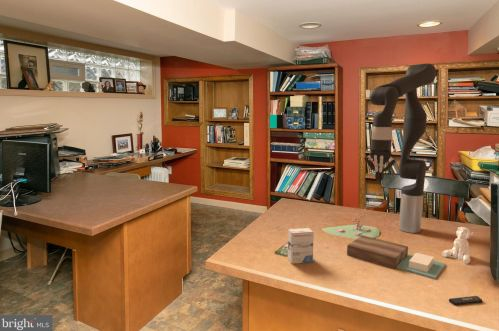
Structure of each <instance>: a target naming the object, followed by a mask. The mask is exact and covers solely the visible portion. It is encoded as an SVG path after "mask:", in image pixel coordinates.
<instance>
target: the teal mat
mask: <svg viewBox="0 0 499 331" xmlns="http://www.w3.org/2000/svg"><path fill="white" fill-rule="evenodd" d="M413 256H414V254H408V256H407V257H406V258H405V259H403V260H402V261H401V262H400V263H399V264H398V265H397V266H396V268H395V269H398V270H401V271H405V272H408V273H412V274H416V275H419V276H422V277H427V278H429V279H433V280H436V279H437V278H438V276H439V275H440V274H441V272H442V271H443V269H444V268H445V267H446V263H444V262H441V261H437V260H434V262H433V265H432V266H431V268H430V269H429V271H428V272H424V271H420V270H416V269H412V268H409V260H410V259H411V258H412V257H413Z"/></svg>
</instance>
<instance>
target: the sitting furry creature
mask: <svg viewBox="0 0 499 331" xmlns="http://www.w3.org/2000/svg"><path fill="white" fill-rule="evenodd" d="M455 232H456V235H455V236H457V237H456V238H455V239H454V241H453V247H452V248H451V249H445V250H443V251H441V255H442V257H444V258H452V259H456V260H458V261H461V262H463V263H464V264H465V265H468V264H470V262H471V250H470V247H469V245H470V244H469V241H468V239H470V238H471V237H472V236H473V235H474V233H475V232H474V231H473V232H471V230H470V229H469V228H467V227H466V226H460V227H459V226H457V230H456V231H455Z"/></svg>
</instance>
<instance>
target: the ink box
mask: <svg viewBox="0 0 499 331" xmlns="http://www.w3.org/2000/svg"><path fill="white" fill-rule="evenodd" d="M314 232H315V231H313V230H312V228H310V227H303V228H289V229H287V242H288V257H287V259H288V260H289V263H290V264H291V265H292V264H301V263H302V264H304V263H313V262H314V234H315V233H314Z"/></svg>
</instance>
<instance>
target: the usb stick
mask: <svg viewBox="0 0 499 331" xmlns="http://www.w3.org/2000/svg"><path fill="white" fill-rule="evenodd" d="M448 302H449V303H450V304H452V305H453V306H463V305H473V304H482V302H483V299H482V298H481V297H480V296H478V295H472V296H471V295H470V296H463V297H454V298H449V299H448Z"/></svg>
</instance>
